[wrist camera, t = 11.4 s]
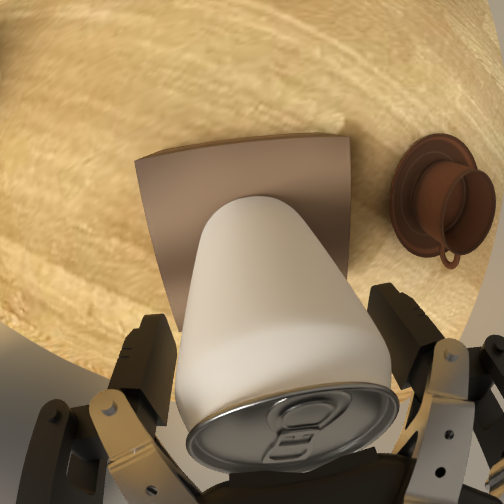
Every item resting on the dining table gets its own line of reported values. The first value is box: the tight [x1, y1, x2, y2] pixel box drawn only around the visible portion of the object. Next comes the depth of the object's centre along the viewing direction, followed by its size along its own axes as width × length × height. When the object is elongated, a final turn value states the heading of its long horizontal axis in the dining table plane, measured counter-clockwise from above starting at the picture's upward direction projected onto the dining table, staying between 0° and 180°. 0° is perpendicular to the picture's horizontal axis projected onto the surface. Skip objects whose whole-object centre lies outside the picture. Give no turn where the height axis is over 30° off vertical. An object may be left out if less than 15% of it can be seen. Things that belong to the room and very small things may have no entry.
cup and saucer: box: [390, 134, 496, 269], centre depth 19 cm, size 12×12×6 cm
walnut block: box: [134, 133, 351, 332], centre depth 19 cm, size 12×12×6 cm
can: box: [175, 196, 399, 474], centre depth 11 cm, size 6×6×12 cm
